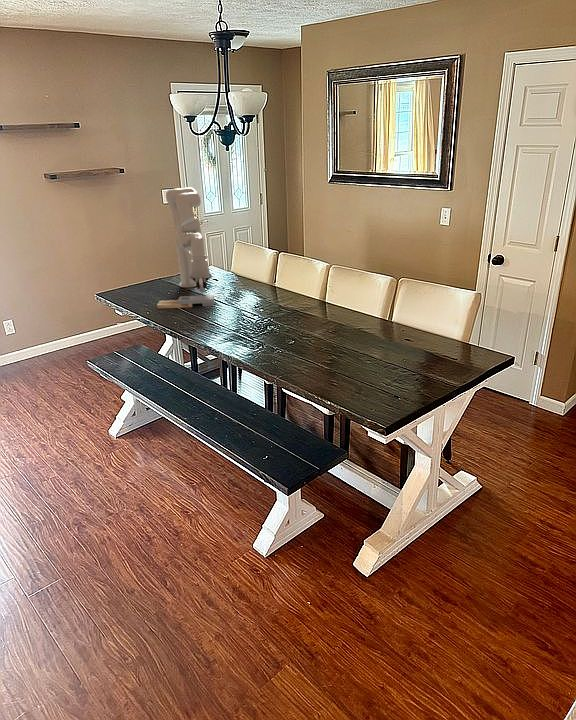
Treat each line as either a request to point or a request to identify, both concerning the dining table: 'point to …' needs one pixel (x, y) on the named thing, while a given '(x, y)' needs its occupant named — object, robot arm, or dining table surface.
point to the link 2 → (197, 300)
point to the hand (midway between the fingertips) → (201, 288)
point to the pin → (201, 284)
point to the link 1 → (171, 304)
